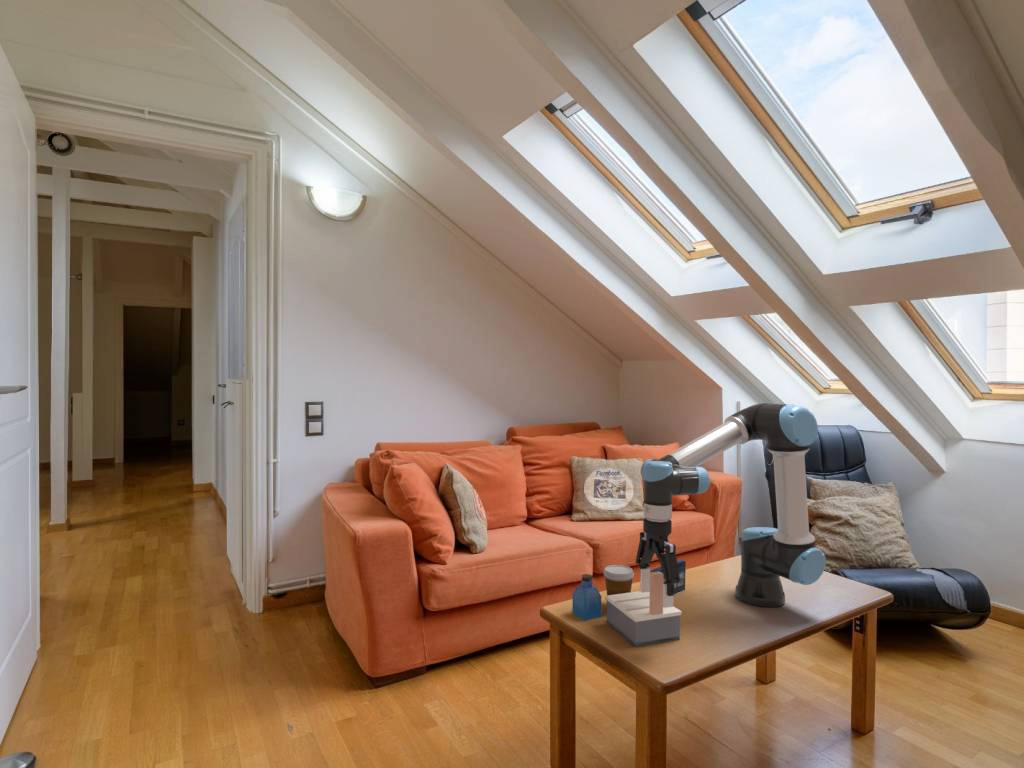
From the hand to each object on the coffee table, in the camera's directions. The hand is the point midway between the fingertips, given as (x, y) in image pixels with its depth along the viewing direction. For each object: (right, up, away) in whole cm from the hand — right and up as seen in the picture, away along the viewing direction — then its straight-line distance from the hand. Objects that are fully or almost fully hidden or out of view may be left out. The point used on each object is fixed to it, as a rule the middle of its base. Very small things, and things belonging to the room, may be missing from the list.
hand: (656, 599), depth 160 cm
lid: (-2, -5, +7) cm, 9 cm away
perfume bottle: (-17, -12, +18) cm, 27 cm away
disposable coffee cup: (-6, -12, +24) cm, 27 cm away
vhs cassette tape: (+12, -12, +34) cm, 38 cm away
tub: (-2, -12, +7) cm, 14 cm away
